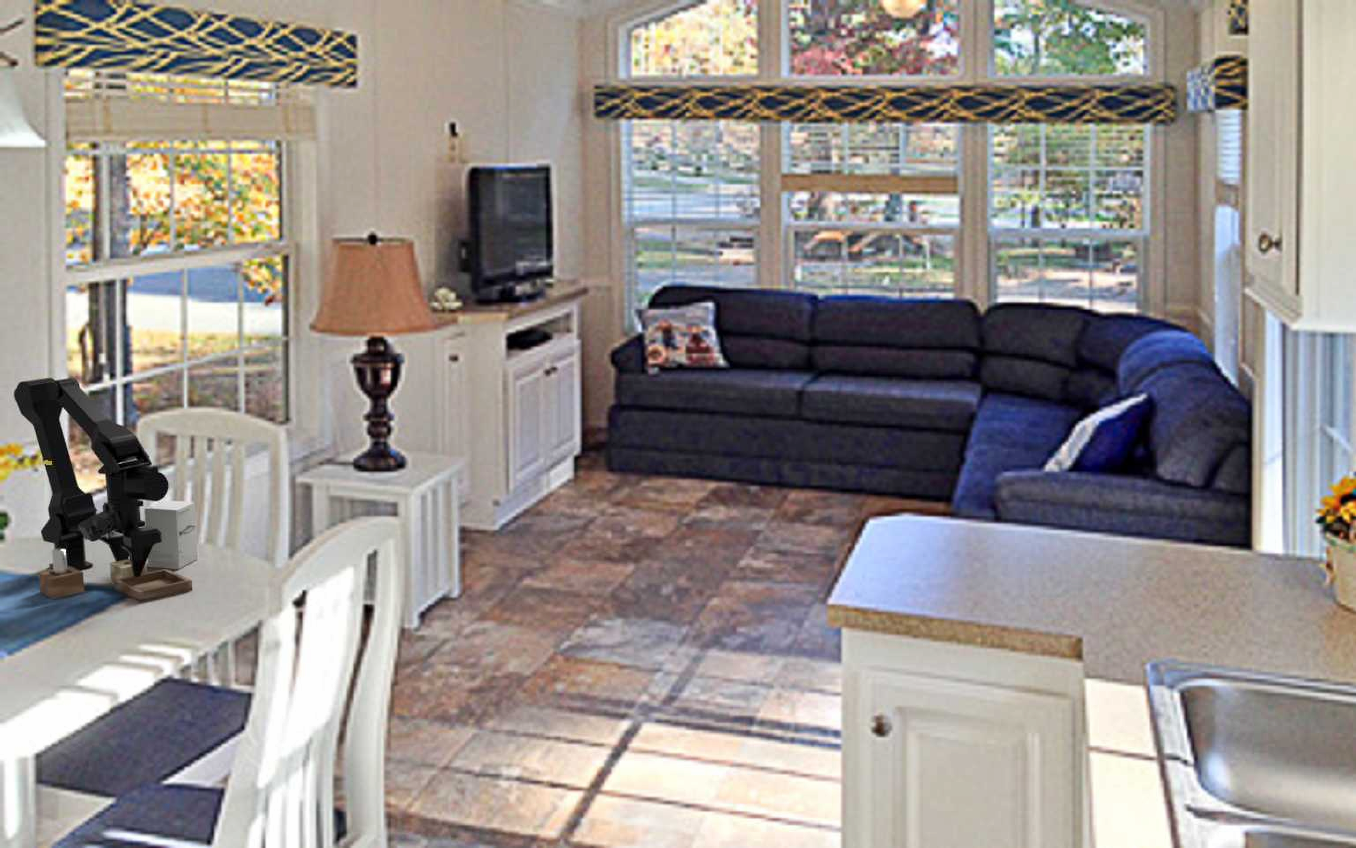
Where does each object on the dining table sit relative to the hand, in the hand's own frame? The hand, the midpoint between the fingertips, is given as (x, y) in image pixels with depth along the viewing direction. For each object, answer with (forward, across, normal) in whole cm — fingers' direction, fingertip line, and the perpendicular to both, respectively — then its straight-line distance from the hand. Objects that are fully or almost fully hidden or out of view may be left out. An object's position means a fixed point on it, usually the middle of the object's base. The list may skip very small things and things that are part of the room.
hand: (130, 573), depth 266 cm
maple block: (+2, -1, 0) cm, 2 cm away
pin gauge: (+2, -3, -12) cm, 13 cm away
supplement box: (+2, -6, +12) cm, 14 cm away
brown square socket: (+2, -3, -12) cm, 13 cm away
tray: (+2, +8, +1) cm, 8 cm away
